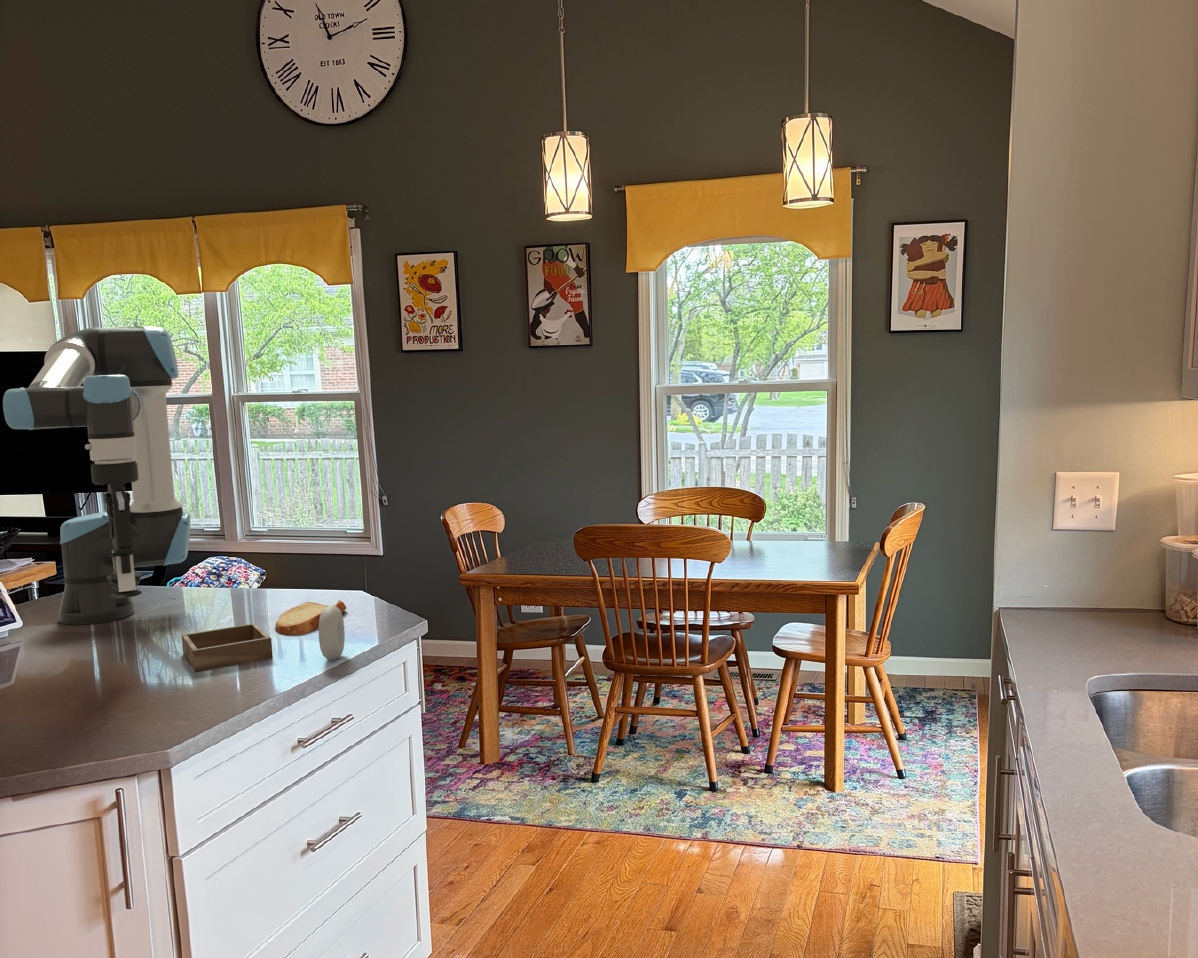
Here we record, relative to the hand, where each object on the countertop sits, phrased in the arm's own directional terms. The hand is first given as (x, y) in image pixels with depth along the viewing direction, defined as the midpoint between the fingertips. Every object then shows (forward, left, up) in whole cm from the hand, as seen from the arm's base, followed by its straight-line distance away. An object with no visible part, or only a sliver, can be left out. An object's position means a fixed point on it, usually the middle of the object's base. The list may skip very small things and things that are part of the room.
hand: (125, 586), depth 177 cm
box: (+4, +16, -15) cm, 22 cm away
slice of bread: (-13, +37, -16) cm, 42 cm away
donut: (+18, +32, -15) cm, 40 cm away
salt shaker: (0, 0, -2) cm, 2 cm away
